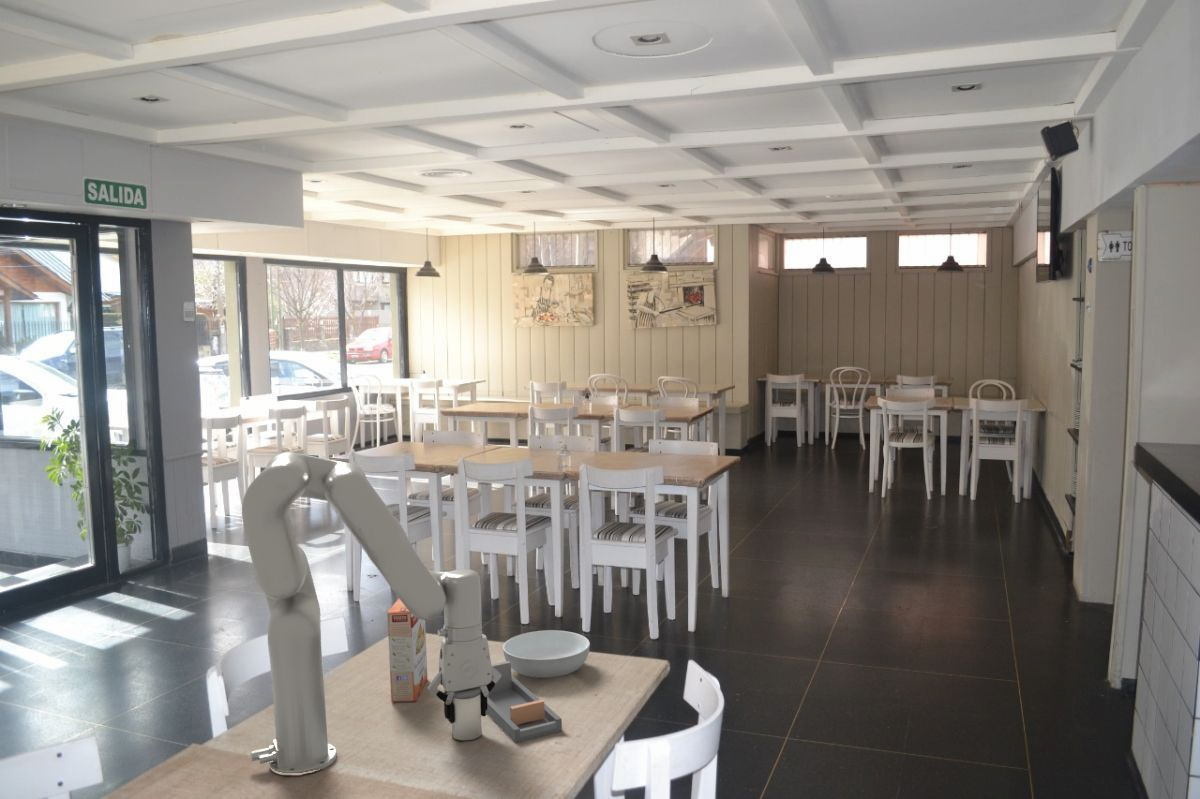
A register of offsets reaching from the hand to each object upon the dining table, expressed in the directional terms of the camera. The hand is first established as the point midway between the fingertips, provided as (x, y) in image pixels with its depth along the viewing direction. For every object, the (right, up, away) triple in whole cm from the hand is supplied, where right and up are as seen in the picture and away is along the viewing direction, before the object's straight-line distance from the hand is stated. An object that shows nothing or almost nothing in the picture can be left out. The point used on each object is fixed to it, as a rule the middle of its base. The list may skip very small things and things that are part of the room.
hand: (466, 716), depth 192 cm
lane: (+9, -3, +10) cm, 14 cm away
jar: (0, -4, 0) cm, 4 cm away
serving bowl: (+15, -1, +34) cm, 37 cm away
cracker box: (-17, -3, +25) cm, 30 cm away
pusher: (+11, -2, +5) cm, 13 cm away
